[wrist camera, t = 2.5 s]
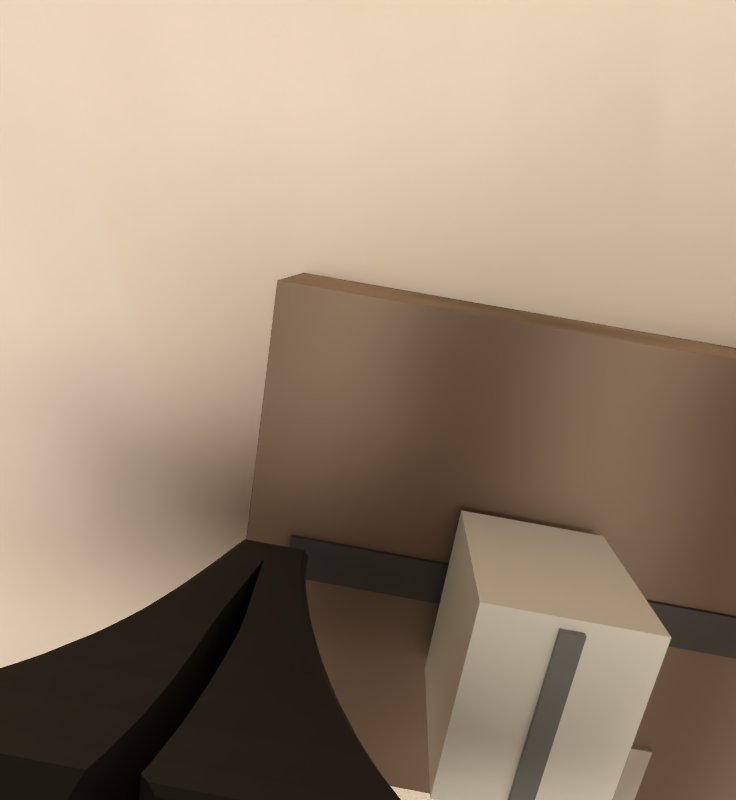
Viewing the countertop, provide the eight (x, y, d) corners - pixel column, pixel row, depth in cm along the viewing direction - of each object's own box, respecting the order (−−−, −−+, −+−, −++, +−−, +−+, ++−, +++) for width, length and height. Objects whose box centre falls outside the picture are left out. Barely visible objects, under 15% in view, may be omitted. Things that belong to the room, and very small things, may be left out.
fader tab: (603, 536, 12) (674, 641, 9) (555, 691, 13) (602, 835, 10) (461, 510, 12) (480, 605, 9) (424, 667, 13) (430, 803, 10)
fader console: (1197, 428, 14) (1416, 479, 11) (975, 805, 17) (1096, 925, 14) (303, 273, 14) (276, 280, 11) (251, 669, 18) (219, 757, 15)
